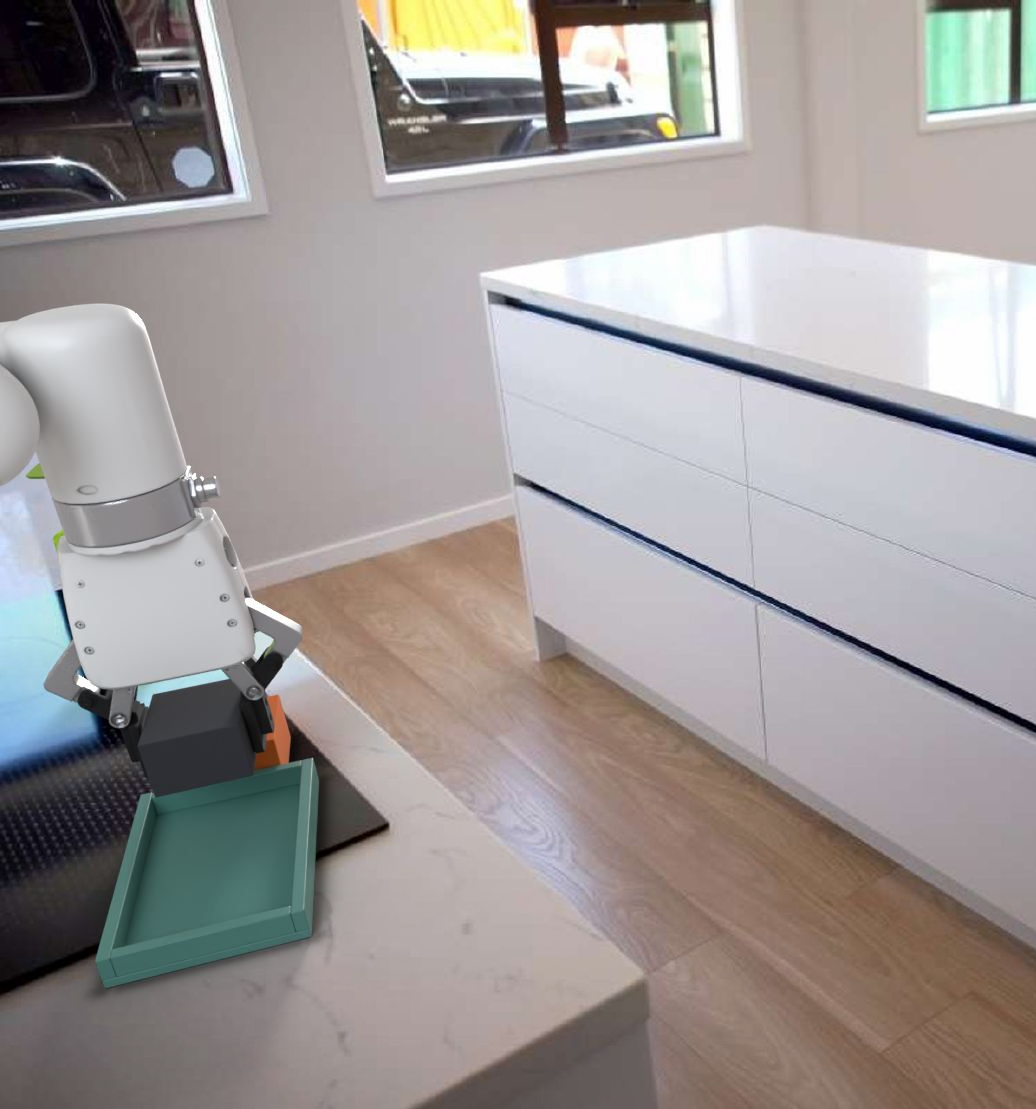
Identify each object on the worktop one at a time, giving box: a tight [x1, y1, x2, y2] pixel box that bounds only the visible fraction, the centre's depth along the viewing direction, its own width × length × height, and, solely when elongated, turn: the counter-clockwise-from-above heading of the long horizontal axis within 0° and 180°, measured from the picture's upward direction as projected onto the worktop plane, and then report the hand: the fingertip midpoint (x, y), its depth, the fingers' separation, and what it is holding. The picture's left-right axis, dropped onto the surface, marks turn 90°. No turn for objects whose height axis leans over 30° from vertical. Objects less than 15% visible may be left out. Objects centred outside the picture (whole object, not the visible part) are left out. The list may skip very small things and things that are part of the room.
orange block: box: [254, 694, 292, 770], centre depth 95 cm, size 6×7×4 cm
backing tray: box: [94, 757, 320, 989], centre depth 84 cm, size 12×18×2 cm, turn 19°
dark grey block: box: [138, 678, 256, 797], centre depth 85 cm, size 6×7×4 cm
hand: (207, 752), depth 85 cm, fingers closed on dark grey block, 6 cm apart
